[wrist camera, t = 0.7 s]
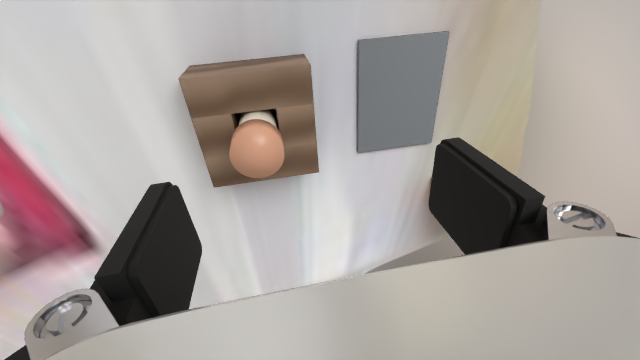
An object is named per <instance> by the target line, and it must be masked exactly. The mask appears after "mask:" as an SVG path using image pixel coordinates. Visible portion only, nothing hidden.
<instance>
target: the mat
mask: <svg viewBox="0 0 640 360" xmlns="http://www.w3.org/2000/svg"><path fill="white" fill-rule="evenodd" d="M448 38H449V31H444V32H434V33H424V34H414V35H404V36H393V37H383V38H373V39H363V40H358V98H357V152H358V153H362V152H369V151H376V150H383V149H390V148H398V147H405V146H412V145H419V144H426V143H431V142H432V136H433V129H434V123H435V117H436V111H437V105H438V99H439V93H440V87H441V81H442V75H443V69H444V63H445V56H446V50H447V44H448Z"/></svg>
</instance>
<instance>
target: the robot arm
mask: <svg viewBox="0 0 640 360" xmlns="http://www.w3.org/2000/svg"><path fill="white" fill-rule="evenodd" d="M544 197H545V196H544V195H542V194H541V193H539V192H538V191H536V190H535V189H534V188H532V187H531V186H529V185H528V184H526V183H525V182H523V181H522V180H520V179H519V178H518V177H516V176H515V175H513V174H512V173H510V172H509V171H507V170H506V169H504V168H503V167H502V166H500V165H499V164H497V163H496V162H494V161H493V160H491V159H490V158H488V157H487V156H486V155H484V154H483V153H481V152H480V151H478V150H477V149H475V148H474V147H472V146H471V145H469V144H468V143H467V142H465V141H464V140H462V139H461V138H452V139H445V140H442V141H441V143H440V144H438V145H437V147H436V152H435V159H434V167H433V174H432V182H431V189H430V197H429V209H430V211H431V213H432V214H433V215H434V217H435V218H436V219H437V220H438V221H439V223H440V224H441V225H442V226H443V228H444V229H445V230H446V231H447V233H448V234H449V235H450V236H451V238H452V239H453V240H454V241H455V243H456V244H457V245H458V246H459V247H460V249H461V250H462V251H463V252H464V254H465V255H462V256H457V257H452V258H446V259H442V260H436V261H430V262H426V263H420V264H415V265H409V266H404V267H399V268H394V269H389V270H384V271H379V272H374V273H368V274H363V275H358V276H353V277H348V278H343V279H338V280H333V281H328V282H323V283H318V284H312V285H307V286H302V287H297V288H293V289H288V290H283V291H278V292H273V293H268V294H263V295H258V296H253V297H248V298H243V299H238V300H233V301H228V302H223V303H218V304H213V305H208V306H203V307H198V308H193V309H189V305H190V301H191V296H192V292H193V288H194V284H195V280H196V275H197V271H198V267H199V263H200V259H201V254H202V246H201V242H200V240H199V237H198V235H197V232H196V230H195V227H194V225H193V222H192V220H191V217H190V215H189V212H188V210H187V207H186V205H185V202H184V200H183V197H182V195H181V192H180V190H179V187H178V186H177V185H174V186H173V185H172V184H171V183H170V182H166V183H159V184H153V185H150V186H149V188H148V190H147V191H146V193H145V195H144V196H143V198H142V200H141V201H140V203H139V205H138V206H137V208H136V210H135V211H134V213H133V214H132V216H131V218H130V219H129V221H128V223H127V224H126V226H125V228H124V229H123V231H122V233H121V234H120V236H119V238H118V239H117V241H116V242H115V244H114V246H113V247H112V249H111V251H110V252H109V254H108V256H107V257H106V259H105V261H104V262H103V264H102V266H101V267H100V269H99V271H98V272H97V274H96V275H95V277H94V278H95V281H94V282H93V284H92V286H91V288H90V289H80V290H75V291H72V292H69V293H66V294H64V295H62V296H60V297H58V298H56V299H55V300H53V301H52V302H50V303H49V304H47V305H46V306H45V307H44V308H42V309H41V310H40V311H39V312H38V313H37V314H36V315H35V316H34V317H33V319H32V320H31V321H30V322H29V324H28V326H27V328H26V330H25V342H26V345H25V346H24V347H22V348H21V349H19V350H18V351H16V352H15V353H13V354H12V355H11V356H9V357H8V358H6V359H5V360H640V238H636V237H632V236H629V235H625V234H620V233H617V232H615V228H614V226H613V223H612V222H611V220H610V219H609V218H608V217H607V216H606V215H605V214H603V213H601V212H600V211H598V210H596V209H594V208H591V207H589V206H586V205H583V204H579V203H574V202H555V203H552V204H550V205H549V206H548V208H546V207H545V206H544V205H542V203H543V200H544Z"/></svg>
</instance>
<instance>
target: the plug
mask: <svg viewBox="0 0 640 360" xmlns="http://www.w3.org/2000/svg"><path fill="white" fill-rule="evenodd" d="M229 157H230V161H231V163H232V165H233V166H234V168H235V169H236V170H237V171H238V172H239V173H241V174H243V175H245V176H247V177H251V178H264V177H268V176H270V175H272V174H274V173H275V172H277V171H278V170H279V169H280V167H281V166H282V164H283V161H284V146H283V139H282V136H281V133H280V131H279V130H278V129H277V126H276V117H275V111H274V109H267V110H259V111H250V112H242V113H240V120H239V126H238V127H237V128H236V129H235V131H234V133H233V135H232V140H231V145H230V151H229Z"/></svg>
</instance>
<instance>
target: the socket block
mask: <svg viewBox="0 0 640 360" xmlns="http://www.w3.org/2000/svg"><path fill="white" fill-rule="evenodd" d="M179 82H180V85H181V88H182V91H183V94H184V97H185V100H186V103H187V107H188V110H189V113H190V116H191V119H192V122H193V125H194V128H195V131H196V134H197V137H198V140H199V143H200V146H201V149H202V153H203V156H204V159H205V162H206V165H207V168H208V171H209V174H210V177H211V180H212V183H213V186H214V187H220V186H227V185H234V184H241V183H248V182H255V181H262V180H269V179H276V178H283V177H290V176H296V175H303V174H310V173H317V172H319V167H318V154H317V141H316V129H315V116H314V103H313V90H312V77H311V65H310V63H309V62H308V60H307V58H306V57H305V55H304V54H300V55H290V56H280V57H271V58H261V59H251V60H242V61H232V62H222V63H212V64H203V65H193V66H189V67H188V68H187V70H186V71H185V72H184V73H183V74H182V76H181V77H180V78H179ZM267 109H274V111H275V117H276V126H277V129H278V130H279V131H280V133H281V136H282V139H283V146H284V161H283V164H282V166H281V167H280V169H279V170H278V171H277V172H275V173H274V174H272V175H270V176H268V177H264V178H251V177H247V176H245V175H243V174H241V173H239V172H238V171H237V170H236V169H235V168H234V166H233V165H232V163H231V161H230V157H229V151H230V145H231V140H232V135H233V133H234V131H235V129H236V128H237V127H238V126H239V120H240V113H242V112H250V111H259V110H267Z"/></svg>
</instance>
